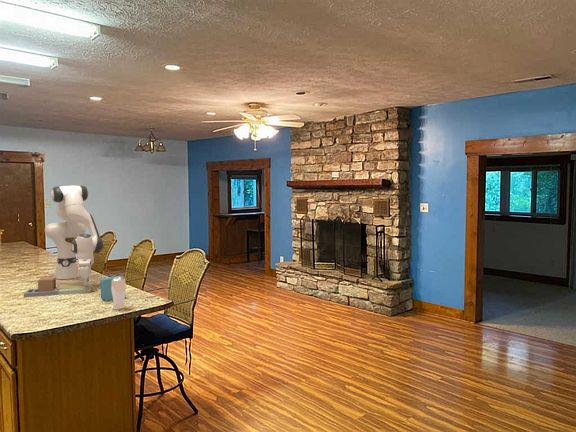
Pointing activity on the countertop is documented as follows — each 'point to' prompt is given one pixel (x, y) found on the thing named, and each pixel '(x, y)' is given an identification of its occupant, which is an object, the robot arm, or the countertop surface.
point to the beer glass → (118, 292)
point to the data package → (107, 288)
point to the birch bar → (70, 284)
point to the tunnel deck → (53, 288)
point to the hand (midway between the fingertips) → (86, 283)
